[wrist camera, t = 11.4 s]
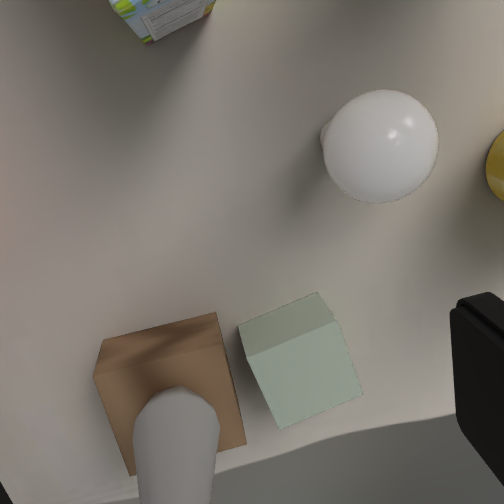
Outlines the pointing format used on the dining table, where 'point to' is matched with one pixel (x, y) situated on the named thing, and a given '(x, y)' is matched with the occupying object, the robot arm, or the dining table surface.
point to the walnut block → (167, 377)
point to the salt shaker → (176, 448)
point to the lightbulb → (380, 146)
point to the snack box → (159, 15)
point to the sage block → (300, 360)
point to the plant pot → (496, 167)
